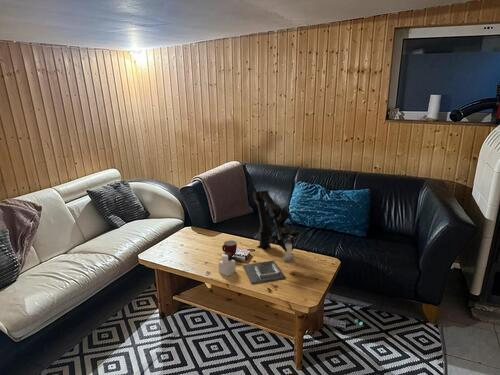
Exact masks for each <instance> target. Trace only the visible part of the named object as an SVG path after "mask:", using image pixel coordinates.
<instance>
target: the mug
mask: <svg viewBox="0 0 500 375" xmlns="http://www.w3.org/2000/svg"><path fill="white" fill-rule="evenodd" d="M237 243H238V242H237V241H236V240H232V239H231V240H225V241H224V242H223V245H222V246H221V247H222V248H221V249H222V251H223V253H225V252H229V253H231V254H232V256H233V255H234V254H235V253H236V254H237V248H238V244H237ZM236 254H235V255H236Z"/></svg>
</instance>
